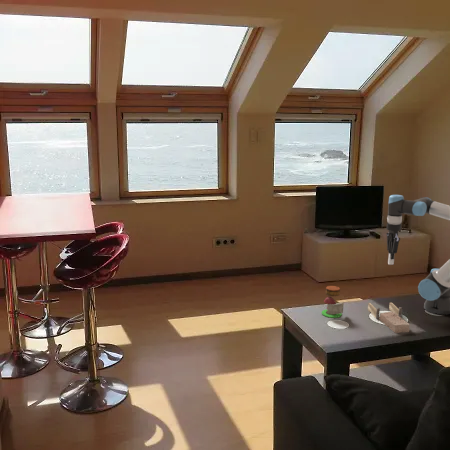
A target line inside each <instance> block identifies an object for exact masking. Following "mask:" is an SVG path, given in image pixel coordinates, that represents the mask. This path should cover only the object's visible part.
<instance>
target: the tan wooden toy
mask: <svg viewBox="0 0 450 450" xmlns="http://www.w3.org/2000/svg"><path fill="white" fill-rule="evenodd" d="M388 309H389V312H395V313H396V314H397V315H398V316H399V317H400V318H401V319H402V314H403V307H401V306H399V307H397V306H396V305H395V304H394V303H393V302H389V307H388ZM380 310H381V309H380V307H375V306H374V305H373V304H372V303H371V302H368V303H367V311H368V312H369V313H370V312H371V313H370V314H371V315H372V316H373V317H374V318H375V320H380V313H381V311H380Z"/></svg>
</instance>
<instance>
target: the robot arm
mask: <svg viewBox="0 0 450 450" xmlns="http://www.w3.org/2000/svg"><path fill="white" fill-rule="evenodd" d="M387 207H388V208H387V217H386V219H387V220H386V221H387V223H386V230H387V231H388V232H386V250H387V251H388V259H387V264H388V265H389V266H392V265H394V263H395V254H398V248H399V243H400V240H401V237H399V232H400V231H402V221H403V214H404V215H410V216H416V217H417V216H418V217H423V216H425V214H428V215H430V216H434V217H438V218H440V219H444V220H446V221H447V220H448V221H450V205H448V204H445V203H442V202H438V201H435V200H432V199H431V198H429V197H420V198H419V199H418V198H417V199H414V200H412V199H411V200H408V199H405V197H404V195H401V194H391V195H389V197H388V206H387ZM417 289H418V291H417V292H418V293H419V295H420V296H421V297H422V298H423V299H424V300H425V301H424V304H423V308H424V310H425V309H426V310H425V311H427V312H430V313H432V314H435V313H437V314H436V315H443V314H446V315H450V258H448V260H447V261H446V262H445V263H444V264H443V265H442V266H441V267H439V268H432V269H431V270H430V273H429V274H428V275H427V276H426V277H425V278H423V279H422V280H421V281H420V282H419V283H418V286H417Z"/></svg>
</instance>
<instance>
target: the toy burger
mask: <svg viewBox="0 0 450 450" xmlns="http://www.w3.org/2000/svg"><path fill="white" fill-rule="evenodd" d="M340 292H341V288H340V287H339V286H336V285H327V286H326V287H325V295H326V296H327V297H325V299H324V300H323V302H324V303H325V304H326V305H327V306H326V309H323V310H322V311H321V315H322V316H324V317H326V318H331V319H332V318H333V319H335V318H341V316H342V313H344V304H345V303H344V302H345V301H344V302H342V303H339V304H337V302H336V300H335V299H334V298H333V297H338V296H340V294H341V293H340Z"/></svg>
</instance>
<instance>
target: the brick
mask: <svg viewBox="0 0 450 450" xmlns="http://www.w3.org/2000/svg"><path fill="white" fill-rule="evenodd" d="M379 321H380V322H381V323H382V324H383V325H385V326H386V327H387V328H389V329H390V330H391V331H392V332H393V333H396V334H399V333H409V332H410V323H408V322H407V321H406V320H404V319H403V318H402V317H401V318H400V317H399V316H398V315H397V314H396V313H395V312H391V311H386V312H380V313H379Z"/></svg>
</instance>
